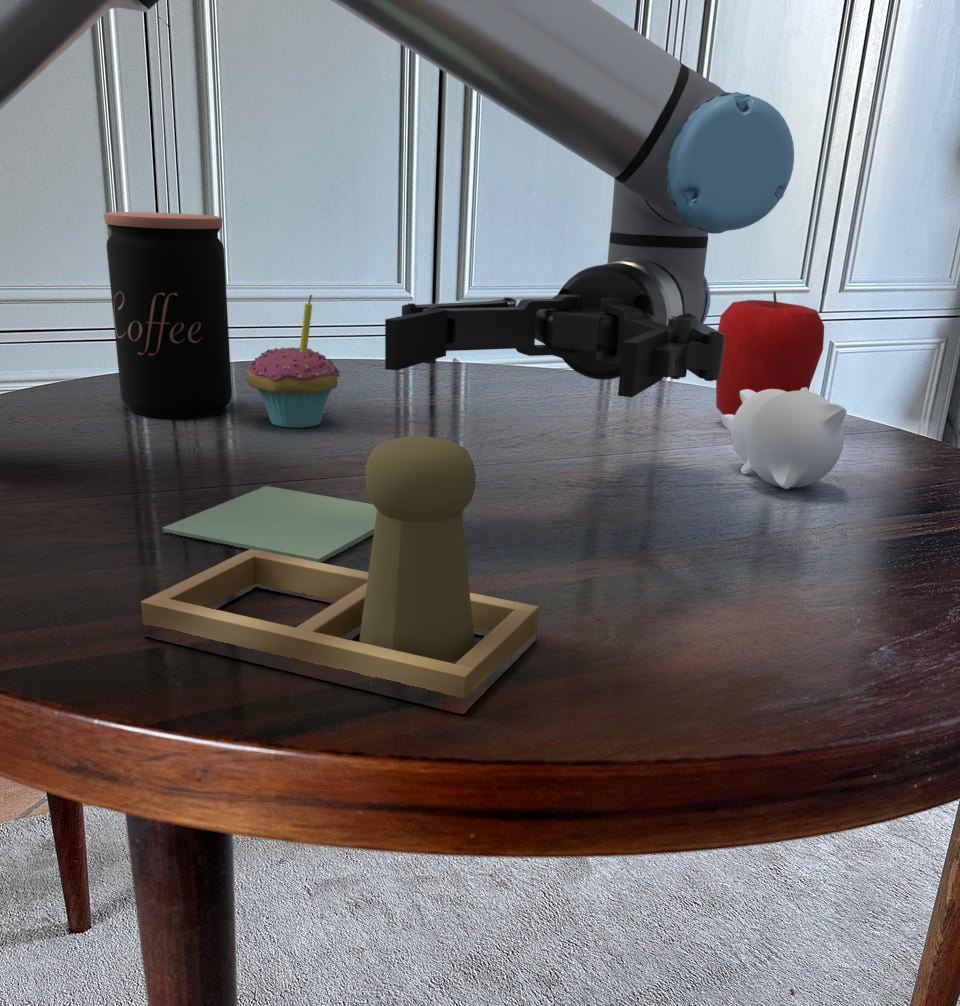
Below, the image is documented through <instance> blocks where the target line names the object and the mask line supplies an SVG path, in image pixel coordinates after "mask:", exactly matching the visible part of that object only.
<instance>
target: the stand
mask: <svg viewBox="0 0 960 1006" xmlns="http://www.w3.org/2000/svg"><path fill="white" fill-rule="evenodd" d="M368 572H369V571H363V570H358V569H354V568H348V567H345V566H338V565H334V564H329V563H325V562H323V563H319V562H314V561H309V560H304V559H299V558H294V557H289V556H284V555H279V554H274V553H269V552H264V551H259V550H254V549H249V550H244V551H242V552H241V553H239V554H237V555H234V556H232V557H230V558H228V559H226V560H224V561H222V562H220V563H218V564H216V565H214V566H211V567H209V568H207V569H205V570H203V571H201V572H199V573H197V574H195V575H193V576H191V577H189V578H186V579H184V580H183V581H180V582H178V583H176V584H174V585H172V586H170V587H168V588H166V589H164V590H161V591H160V592H158V593H156V594H153V595H152V596H150V597H147V598H145V599H143V600H141V601H140V608H141V609H140V610H141V616H142V617H141V618H142V625H143V624H144V625H151V626H156V627H162V628H167V629H172V630H176V631H180V632H183V633H188V634H191V635H194V636H196V635H197V636H200V637H204V638H206V639H207V638H208V639H212V640H215V641H218V642H219V641H220V642H224V643H229V644H233V645H236V646H239V647H241V646H242V647H245V648H248V649H250V648H251V649H255V650H258V651H261V652H262V651H263V652H268V653H271V654H275V655H280V656H285V657H288V658H290V657H291V658H295V659H299V660H302V661H306V662H310V663H314V664H317V665H319V664H320V665H324V666H328V667H332V668H336V669H342V670H343V669H344V670H348V671H352V672H356V673H360V674H361V675H365V676H370V677H374V678H375V677H378V678H382V679H386V680H391V681H396V682H400V683H402V684H406V685H410V686H415V687H420V688H425V689H427V690H431V691H436V692H441V693H443V694H447V695H452V696H456V697H459V698H466V697H467V696H468V695H469V694H470V693H471V692H473V691H474V690H475V689H476V688H477V687H478V686H479V685H480V684H481V683H483V682H484V681H485V680H486V679H487V678H488V677H489V676H490V675H491V674H492V673H493V672H494V671H496V670H497V668H498V667H499V666H500V665H501V664H503V663H504V662H505V661H506V660H507V659H508V658H509V657H511V656H512V655H513V653H515V652H516V651H517V650H518V649H519V648H520V647H522V645H523V644H525V643H526V642H527V641H528V640H529V639H530V637H532V636H533V635H534V634H536V632H537V633H538V626H539V625H538V623H539V610H540V608H539V605H534V604H528V603H523V602H519V601H515V600H509V599H503V598H498V597H494V596H489V595H484V594H478V593H474V592H470V600H471V611H472V622H473V626H475V627H479V628H483V629H488V630H492V631H491V632H489V633H488V634H487V635H486V636H485V637H482V639H481V640H479V641H478V642H477V643H476V644H475V646H474V647H473V648H472V649H471V650H470V651H469V652H467V653H466V654H465V655H464V656H463V657H462V658H461V659H460V660H459V661H457V662H456V663H455V664H453V663H448V662H444V661H440V660H435V659H431V658H426V657H422V656H418V655H413V654H409V653H405V652H400V651H396V650H391V649H387V648H383V647H378V646H374V645H369V644H365V643H361V642H359V641H356V640H347V639H343V638H340V637H342V636H344V635H346V634H347V633H349V632H351V631H352V630H353V629H356V628H357V627H359V626H360V625H361V623H362V616H363V609H364V601H365V594H366V587H367V580H368ZM254 584H261V585H264V586H269V587H273V588H276V589H281V590H287V591H292V592H298V593H304V594H307V595H313V596H316V597H317V596H319V597H322V598H328V599H333V600H338V601H337V602H335V603H334V604H330V605H329V606H328V607H326V608H324V609H322V610H320V611H319V612H318V613H316V614H315V615H313V616H311V617H310V618H309V619H307V620H305V621H303V622H302V623H300V624H299V625H298V626H296V627H294V626H290V625H286V624H281V623H277V622H272V621H267V620H263V619H260V618H254V617H250V616H245V615H242V614H237V613H233V612H229V611H224V610H219V609H217V610H216V609H211V608H207V607H204V606H206V605H208V604H210V603H213V602H215V601H218V600H219V599H222V598H225V597H227V596H229V595H231V594H233V593H236V592H239V591H240V590H243V589H244V588H247V587H249V586H251V585H254Z"/></svg>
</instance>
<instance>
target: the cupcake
mask: <svg viewBox="0 0 960 1006" xmlns="http://www.w3.org/2000/svg"><path fill="white" fill-rule="evenodd" d="M312 297H313V295H312V294H309V297H308V302H305V303H304V309H303V320H302V327H301V335H300V345H299V347H281V348H277V347H275V348H274V349H267V350H266V351H264V352H261V354H260V355H259V356H258V357H255V358H254V360H253V361H251V362H250V365H249V366H248V372H247V378H246V379H247V384H248V385H249V386H250V387H252V388H254V389H256V390H257V392H258V393H259V395H260V397H261V399H262V402H263V404H264V406H265V409H266V412H267V415H268V418H269V421H270V423H271V424H272V425H273V426H276V427H282V428H288V429H289V428H291V429H298V428H299V429H302V428H310V427H311V428H312V427H315V426H318V425H319V424H321V421H322V417H323V413H324V410H325V407H326V403H327V401H328V398H329V396H330V394H331V391H332V390H333V389H336V388H337V387H338V377H340V376H341V375H340V373H341V372H340V370H339V368H337V366H336V365H334V363H333V361H332V360H331V359H329V358H327V357H326V356H325V355H323V354H321V353H319V351H314V350H312V348H308V343H309V336H310V328H311V318H312V311H313V304H312V303H311V302H312Z"/></svg>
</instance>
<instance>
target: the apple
mask: <svg viewBox="0 0 960 1006" xmlns="http://www.w3.org/2000/svg"><path fill="white" fill-rule="evenodd" d="M772 295H773V300H761V299H747V300H740V301H733V302H732V303H730V305H729V306H728V307H727V308H726V309H725V310H724V311H723V313H722V314H721V315H720V317H719V323H718V327H717V331H719V332H721V333H723V334H725V342H724V350H723V357H722V365H721V372H720V379H717V380H715V406H716V409H718V411H719V412H720V413H721V414H722V415H726V414H732V415H735V414H736V412H737V410H738V409H739V407H740V406H741V405H742V404H743V403H742V401H741V398H740V391H741V390H745V389H749V390H752V391H754V392H756V393H758V392H760V391H763V390H767V389H779V390H784V391H786V392H790V391H800V390H801V388H804V387H806V388H808V389H809V390H810V389H811V384H812V381H813V379H814V375H815V372H816V370H817V367H818V365H819V363H820V359H821V356H822V354H823V351H824V342H825V341H824V340H825V339H824V338H825V324H824V322H823V320H822V317H821V316H820V314H819V312H818V310H817V309H814V308H811V307H808V306H806V305H800V304H794V303H786V302H780V301H777V293H776V291H773V293H772Z"/></svg>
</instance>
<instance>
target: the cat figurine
mask: <svg viewBox="0 0 960 1006" xmlns="http://www.w3.org/2000/svg"><path fill="white" fill-rule="evenodd" d="M740 398H741V401H742V403H743V404H742V405H741V406H740V407H739V409H738V410H737V412H736V414H735V415H732V414H726V415H723V414H722V415H721V424H722V425H723V427H725V428H726V429H727V430H728V431H729V432H730V439H731V440H730V441H731V444H732V447H733V449H734V451H735V453H736V454H737V456H738V457H740V459H741V460H742V461H743V462H745V463H744V464H743V465H742V466H741V468H740V471H741V473H742V472H746V473H749V474H751V473H753V472H755V473H756V474H757V476H759V477H760V478H761V479H762V480H764V481H765V482H767V483H768V484H770V485H772V486H775V485H776V486H775V487H779V486H780V487H779V488H782V489H784V490H789V489H791V488H790V487H798V488H803V487H807V486H810V485H812V484H814V483H816V482H818V481H820V480H821V479H823V478H825V476H826V475H828V474H829V473H830V472H831V471H832V469H833V468H834V467H835V466H836V464H837V462H838V461H839V459H840V456H841V454H842V452H843V449H844V443H845V430H844V424H843V421H844V420H845V418H846V415H847V409H846V408H845V407H844V406H842V405H840V404H837V403H831V402H830V401H829V400H828V399H826V398H825V397H824V396H821V395H820V394H817V393H815V392H812V391H810V388H809V389H808V388H806V387H804V388H801V390H800V391H790V392H786V391H784V390H779V389H767V390H763V391H760V392H758V393H756V392H754V391H752V390H749V389H745V390H741V391H740Z"/></svg>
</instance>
